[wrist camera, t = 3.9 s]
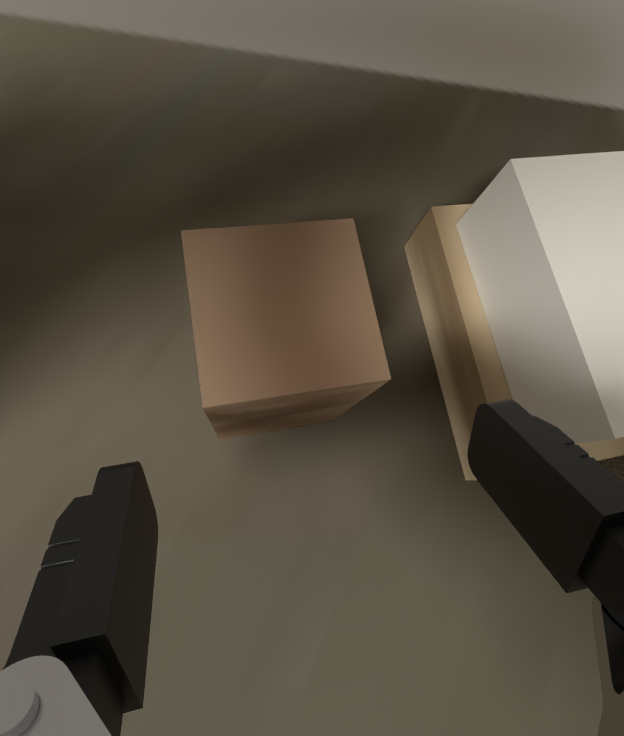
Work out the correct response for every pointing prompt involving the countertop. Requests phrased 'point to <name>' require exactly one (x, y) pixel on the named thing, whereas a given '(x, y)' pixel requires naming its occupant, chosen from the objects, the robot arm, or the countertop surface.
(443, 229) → the tower base
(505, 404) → the robot arm
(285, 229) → the walnut block
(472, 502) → the countertop surface
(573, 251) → the tower top
